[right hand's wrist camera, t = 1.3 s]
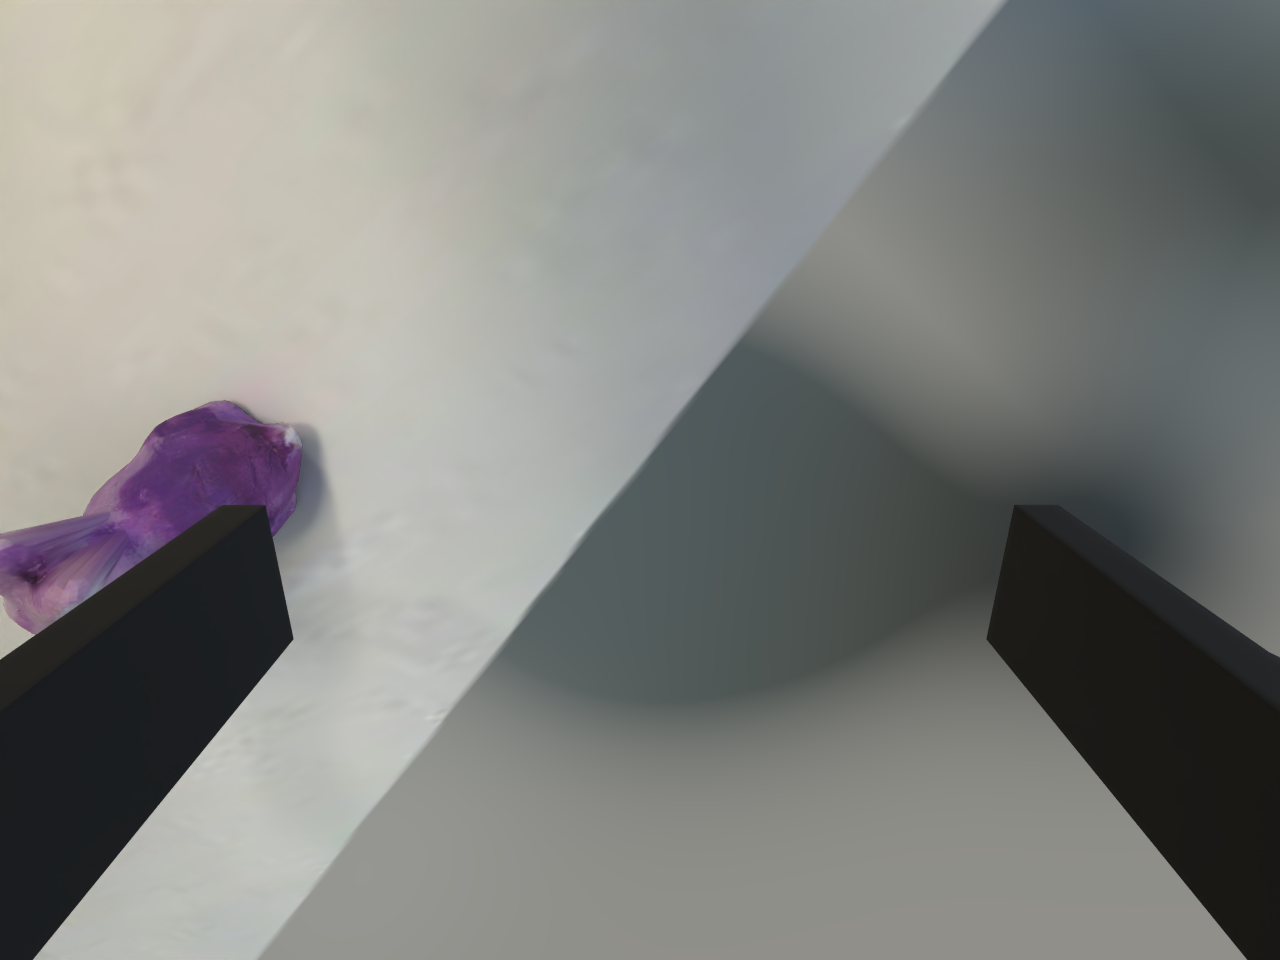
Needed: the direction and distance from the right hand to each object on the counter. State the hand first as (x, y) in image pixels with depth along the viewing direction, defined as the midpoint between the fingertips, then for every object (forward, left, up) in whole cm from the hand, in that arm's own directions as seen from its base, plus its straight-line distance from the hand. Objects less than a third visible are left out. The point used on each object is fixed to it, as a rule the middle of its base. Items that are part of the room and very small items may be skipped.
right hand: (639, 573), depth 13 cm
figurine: (+9, -24, -28) cm, 38 cm away
